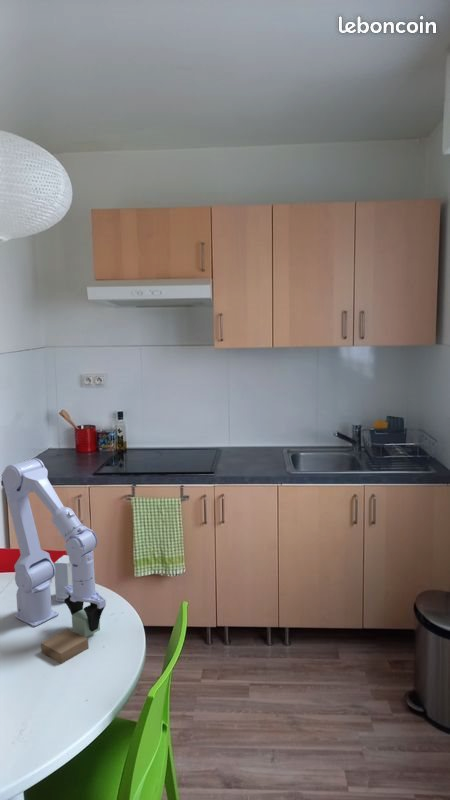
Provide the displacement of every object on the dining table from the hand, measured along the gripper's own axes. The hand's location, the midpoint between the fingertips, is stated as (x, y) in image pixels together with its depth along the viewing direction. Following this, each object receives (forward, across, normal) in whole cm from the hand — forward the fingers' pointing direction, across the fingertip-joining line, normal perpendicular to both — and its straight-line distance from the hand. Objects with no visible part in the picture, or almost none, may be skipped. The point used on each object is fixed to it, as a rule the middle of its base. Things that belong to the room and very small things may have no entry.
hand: (86, 626), depth 149 cm
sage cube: (+2, 0, 0) cm, 2 cm away
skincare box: (+2, -20, +9) cm, 22 cm away
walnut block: (+2, +3, -9) cm, 10 cm away
